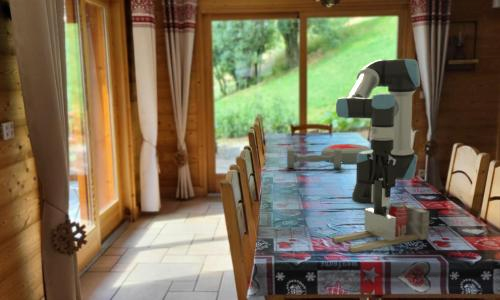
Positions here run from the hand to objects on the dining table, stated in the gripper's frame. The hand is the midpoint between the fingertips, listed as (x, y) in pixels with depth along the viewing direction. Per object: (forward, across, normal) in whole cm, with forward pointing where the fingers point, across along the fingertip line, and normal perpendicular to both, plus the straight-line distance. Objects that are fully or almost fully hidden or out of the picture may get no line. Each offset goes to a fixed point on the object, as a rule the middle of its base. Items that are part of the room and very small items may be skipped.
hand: (380, 203), depth 163 cm
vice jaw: (+11, 0, 0) cm, 11 cm away
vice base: (+13, 0, 0) cm, 13 cm away
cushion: (+14, -137, +83) cm, 161 cm away
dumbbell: (+14, -119, +45) cm, 128 cm away
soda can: (+13, 0, +8) cm, 16 cm away
